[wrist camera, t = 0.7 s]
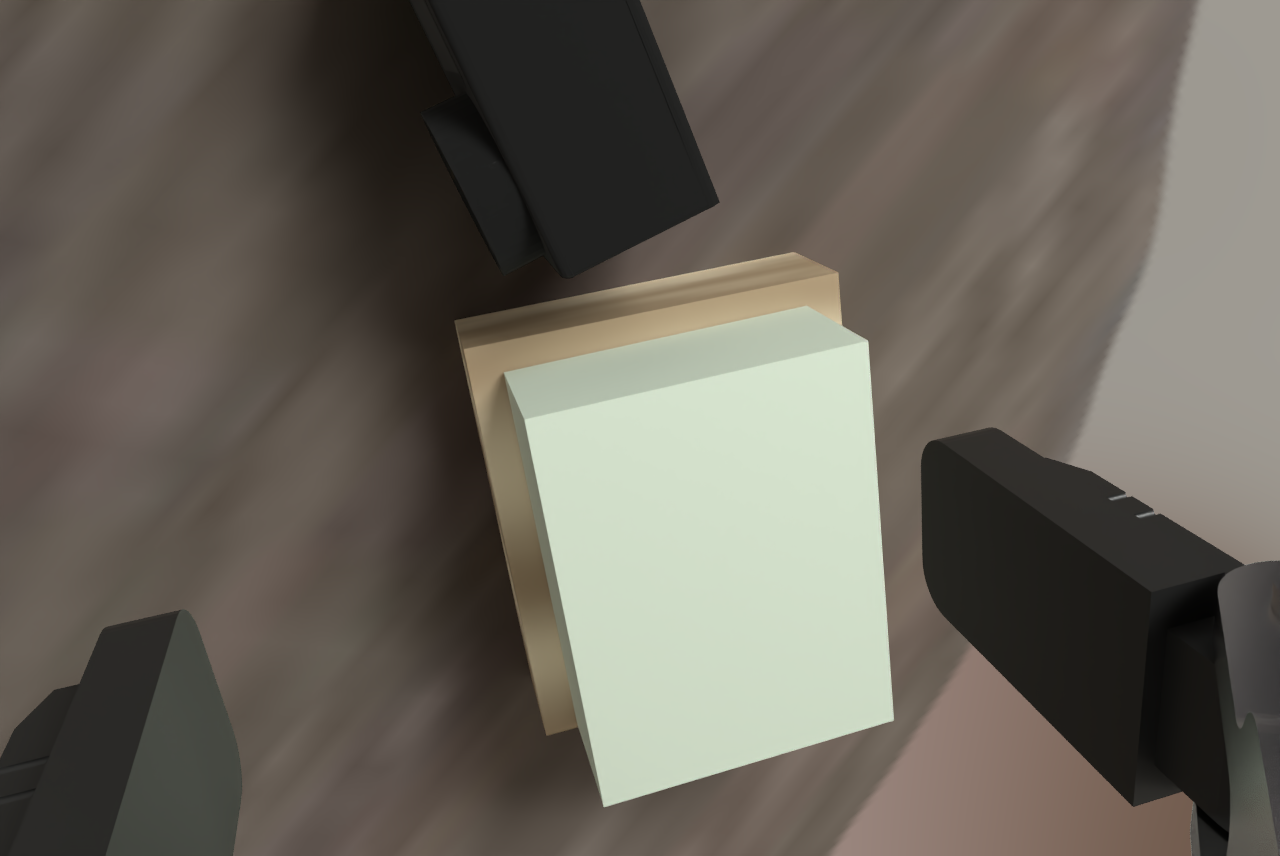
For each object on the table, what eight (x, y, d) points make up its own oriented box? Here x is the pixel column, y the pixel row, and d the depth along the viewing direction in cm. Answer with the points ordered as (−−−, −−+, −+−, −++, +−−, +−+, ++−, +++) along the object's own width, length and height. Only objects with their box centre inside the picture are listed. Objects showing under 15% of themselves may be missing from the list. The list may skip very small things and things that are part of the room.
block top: (503, 372, 29) (524, 419, 25) (806, 305, 30) (868, 340, 26) (577, 723, 33) (603, 807, 29) (837, 649, 35) (893, 720, 31)
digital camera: (306, -106, 27) (287, -156, 20) (494, -194, 27) (534, -269, 21) (488, 253, 31) (520, 306, 25) (649, 173, 31) (722, 204, 25)
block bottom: (452, 315, 32) (463, 349, 28) (787, 248, 34) (838, 272, 30) (528, 667, 37) (546, 735, 33) (818, 592, 39) (865, 648, 35)
